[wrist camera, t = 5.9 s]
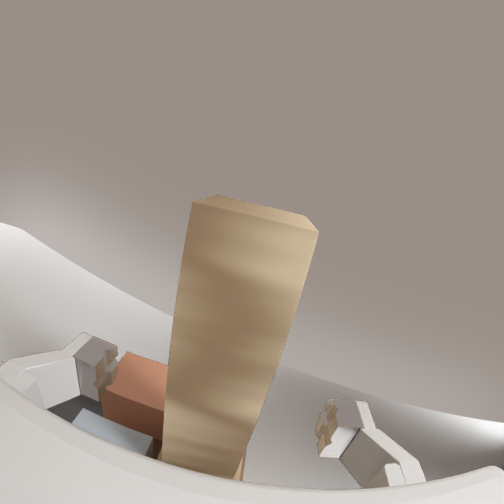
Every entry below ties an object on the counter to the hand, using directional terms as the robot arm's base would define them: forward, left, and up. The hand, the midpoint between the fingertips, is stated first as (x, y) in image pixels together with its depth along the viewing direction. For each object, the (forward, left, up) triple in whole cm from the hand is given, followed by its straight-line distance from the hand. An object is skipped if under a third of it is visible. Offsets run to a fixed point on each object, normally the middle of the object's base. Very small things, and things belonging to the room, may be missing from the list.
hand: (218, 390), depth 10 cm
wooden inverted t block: (0, 0, -8) cm, 8 cm away
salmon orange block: (+5, -4, -8) cm, 10 cm away
